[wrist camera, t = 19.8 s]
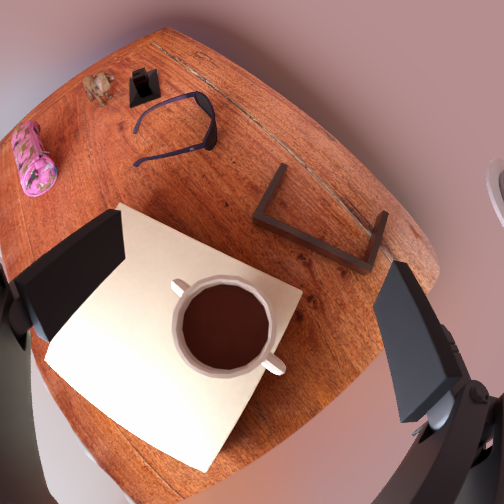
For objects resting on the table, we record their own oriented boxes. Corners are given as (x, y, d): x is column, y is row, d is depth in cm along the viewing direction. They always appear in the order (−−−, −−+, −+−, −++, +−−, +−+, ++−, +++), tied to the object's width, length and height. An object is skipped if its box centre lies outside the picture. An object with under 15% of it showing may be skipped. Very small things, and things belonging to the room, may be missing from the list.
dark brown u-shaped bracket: (382, 219, 39) (389, 212, 37) (364, 275, 37) (371, 272, 35) (280, 171, 42) (281, 162, 39) (252, 223, 39) (252, 216, 37)
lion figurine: (126, 94, 49) (113, 66, 40) (110, 110, 48) (95, 82, 39) (93, 87, 51) (80, 63, 42) (79, 100, 50) (64, 77, 41)
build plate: (130, 79, 51) (124, 66, 46) (158, 69, 51) (153, 55, 47) (130, 108, 47) (122, 93, 43) (162, 96, 48) (156, 81, 43)
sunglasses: (224, 154, 43) (221, 135, 38) (135, 180, 42) (123, 164, 37) (210, 103, 46) (206, 85, 42) (133, 126, 46) (124, 110, 41)
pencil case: (68, 174, 43) (44, 150, 35) (38, 206, 41) (12, 187, 33) (46, 131, 48) (29, 110, 39) (21, 157, 46) (3, 139, 37)
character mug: (180, 320, 30) (131, 312, 17) (219, 273, 31) (195, 235, 19) (254, 381, 28) (253, 418, 15) (294, 333, 29) (322, 335, 17)
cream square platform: (296, 297, 36) (303, 291, 31) (212, 454, 30) (205, 473, 24) (135, 218, 40) (119, 201, 34) (67, 358, 34) (44, 359, 28)
